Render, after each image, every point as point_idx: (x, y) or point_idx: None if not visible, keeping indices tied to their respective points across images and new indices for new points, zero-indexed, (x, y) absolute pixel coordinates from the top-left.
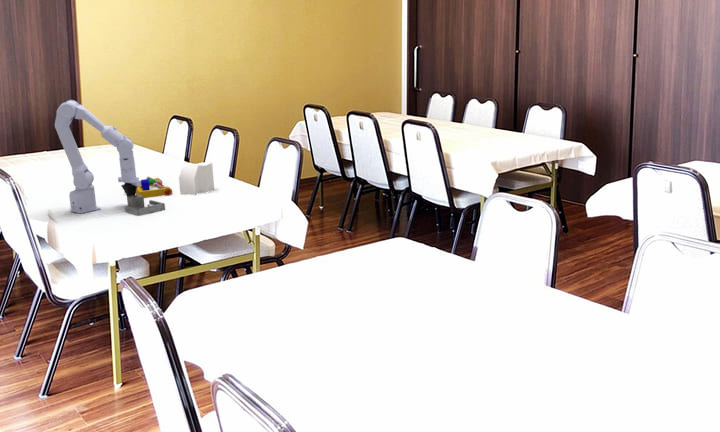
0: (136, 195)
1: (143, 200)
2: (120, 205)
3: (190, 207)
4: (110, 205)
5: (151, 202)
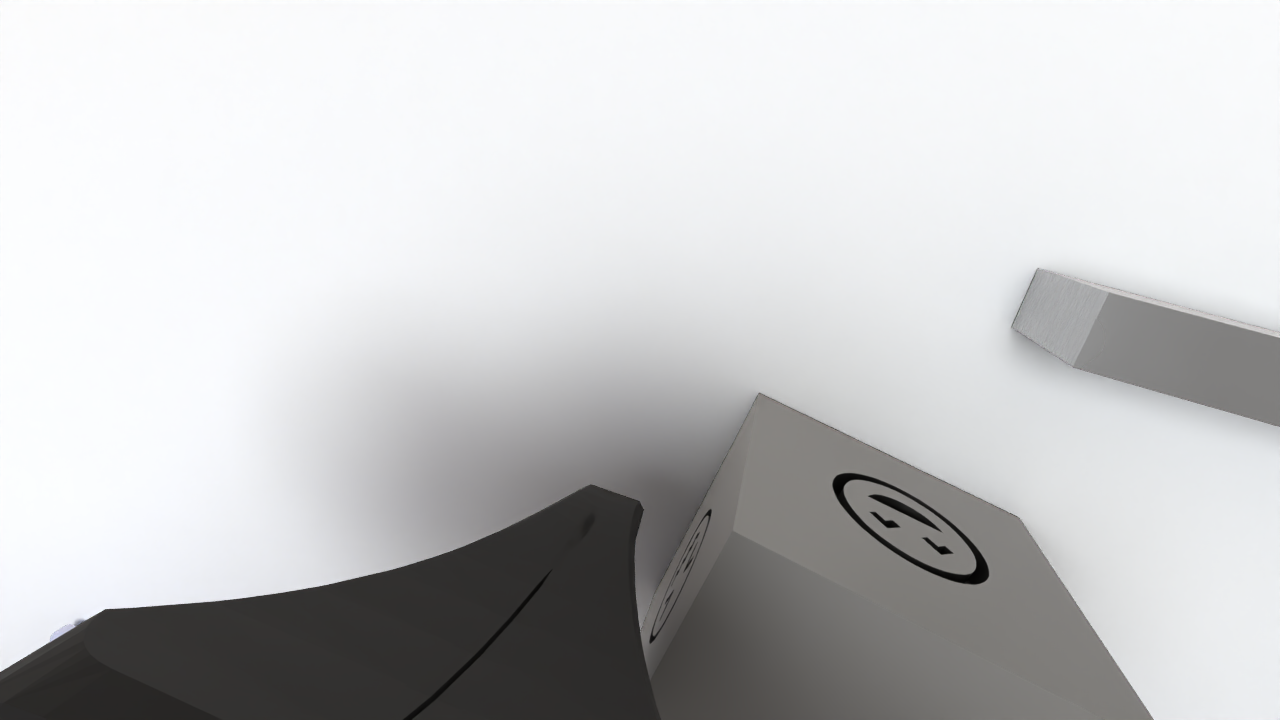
0: (778, 678)
1: (1095, 654)
2: (346, 445)
3: None
4: (212, 492)
5: (1189, 394)
